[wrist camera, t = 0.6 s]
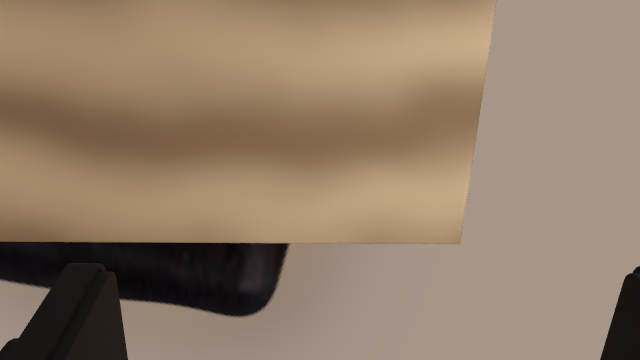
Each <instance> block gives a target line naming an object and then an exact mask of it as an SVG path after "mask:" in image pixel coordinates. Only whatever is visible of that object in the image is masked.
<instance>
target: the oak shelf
mask: <svg viewBox="0 0 640 360" xmlns="http://www.w3.org/2000/svg"><path fill="white" fill-rule="evenodd" d="M496 1H497V0H0V241H4V242H176V243H349V244H351V243H354V244H361V243H362V244H460V241H461V235H462V227H463V222H464V215H465V208H466V201H467V195H468V188H469V182H470V174H471V168H472V161H473V155H474V148H475V141H476V135H477V128H478V121H479V115H480V108H481V101H482V94H483V88H484V81H485V75H486V67H487V61H488V54H489V48H490V41H491V34H492V27H493V21H494V15H495V8H496Z"/></svg>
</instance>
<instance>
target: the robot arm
mask: <svg viewBox="0 0 640 360" xmlns="http://www.w3.org/2000/svg"><path fill="white" fill-rule="evenodd" d="M0 360H128V358H127V350H126V343H125V336H124V329H123V322H122V315H121V307H120V300H119V293H118V286H117V279H116V275H115V273H114V272H106V269H105V267H104V265H103V264H101V263H70V264H68V265H67V266H66V267H65V268H64V270H63V271H62V273H61V274H60V276H59V277H58V279H57V280H56V282H55V283H54V285H53V287H52V288H51V290H50V291H49V293H48V294H47V296H46V297H45V299H44V300H43V302H42V303H41V305H40V306H39V308H38V309H37V311H36V313H35V314H34V316H33V317H32V319H31V320H30V322H29V323H28V325H27V326H26V328H25V329H24V331H23V333H22V334H21V336H20V337H19V338H16V339H15V338H14V339H12V340H10V341H8V342H7V343H6V345H5V346H4V347H3V348H2V350H1V351H0ZM600 360H640V266H639V267H637V268H636V269H635V270H634V271H633V273H631V274H628V275H627V276H626V277H625V279H624V282H623V285H622V288H621V292H620V295H619V298H618V302H617V305H616V308H615V312H614V315H613V319H612V322H611V325H610V329H609V332H608V335H607V339H606V342H605V345H604V349H603V352H602V356H601V359H600Z"/></svg>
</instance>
